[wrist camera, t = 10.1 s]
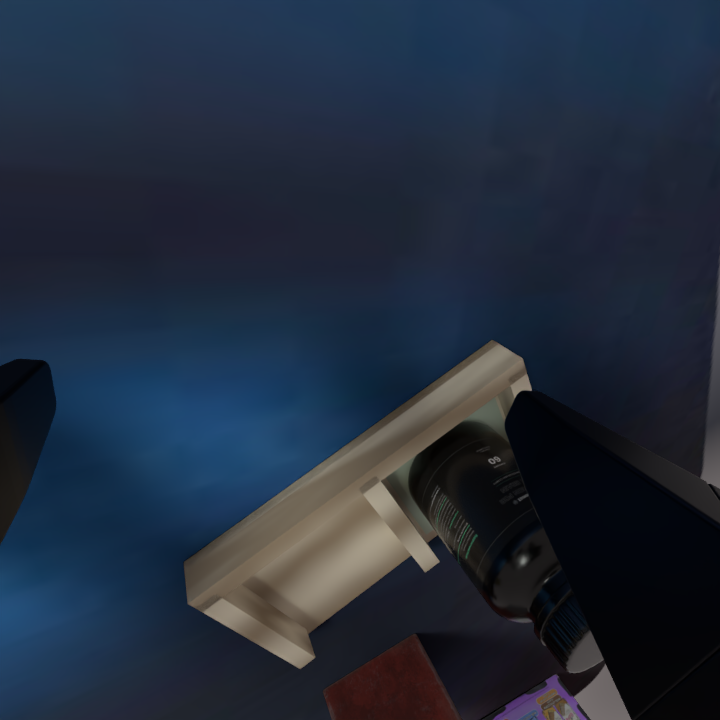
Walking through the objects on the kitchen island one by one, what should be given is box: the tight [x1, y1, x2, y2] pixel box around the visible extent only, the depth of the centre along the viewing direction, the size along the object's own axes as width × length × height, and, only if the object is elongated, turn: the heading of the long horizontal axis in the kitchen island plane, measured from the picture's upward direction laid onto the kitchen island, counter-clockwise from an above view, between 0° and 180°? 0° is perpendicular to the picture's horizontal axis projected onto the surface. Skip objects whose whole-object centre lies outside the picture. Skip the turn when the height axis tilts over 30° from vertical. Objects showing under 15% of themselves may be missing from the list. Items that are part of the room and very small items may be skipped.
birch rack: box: [184, 340, 532, 669], centre depth 28 cm, size 12×22×3 cm, turn 117°
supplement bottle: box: [408, 421, 604, 673], centre depth 24 cm, size 7×7×12 cm
